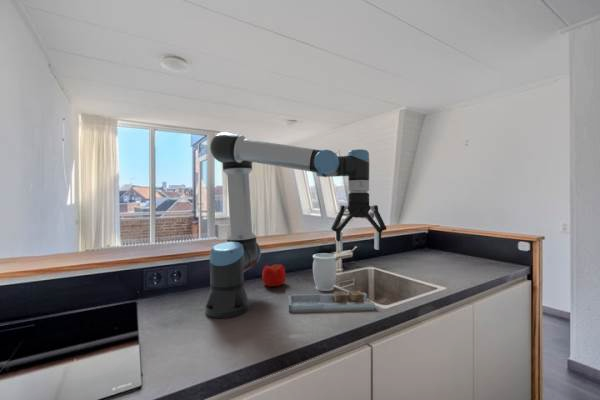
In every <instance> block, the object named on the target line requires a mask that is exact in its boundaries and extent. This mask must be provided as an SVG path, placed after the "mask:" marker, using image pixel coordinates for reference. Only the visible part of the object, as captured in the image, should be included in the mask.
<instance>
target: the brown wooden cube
mask: <svg viewBox="0 0 600 400" xmlns="http://www.w3.org/2000/svg"><path fill="white" fill-rule="evenodd" d="M348 293H349V302H364V294H363V293H364V292H361V291H360V290H351V291H348Z"/></svg>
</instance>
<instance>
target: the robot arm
mask: <svg viewBox="0 0 600 400" xmlns="http://www.w3.org/2000/svg"><path fill="white" fill-rule="evenodd" d="M210 153H211V155H212V157H213V158H214V159H215V160H216V161H218V162H219V163H221V164H222V171H223V173H225V174H226V176H227V192H228V193H227V194H228V208H229V209H228V210H229V211H228V213H229V225H230V227H229V229H230V234H229V235H228V237H227V238H226V240H227V241H226V242H222V243H217V244H215V245H213V246H212V247H211V249H210V252H209V276H210V278H209V280H210V282H209V283H210V285H209V286H210V287H209V289H210V290H209V292H208V296H207V300H206V302H205V307H204V308H205V310H204V311H205V315H206V316H208V317H210V318H214V319H215V318H216V319H229V318H235V317H238V316H240V315H243V314H245V313H246V312H247V311H249V308H250V307H249V306H250V305H249V304H250V303H249V297H248V296H247V295H248V294H247V292H246V289H245V285H244V282H245V281H244V280H245V279H244V278H245V277H244V276H245V274H244V273H245V272H246V271H248V270H249V269H252V268H253V267H255V266H256V264H257V263H258V262H259V261H260V258H261V254H262V251H261V247H260V244H259V243H258V242H257V235H256V234H254V233H253V226H252V224H253V223H252V208H251V207H252V206H251V194H250V193H251V191H250V173H251V172H252V171H253V163H255V164H262V165H269V166H274V167H275V166H276V167H280V168H281V167H282V168H287V169H294V170H299V171H306V172H311V173H316V176H317V177H323V178H329V177H331V178H332V177H348V182H347V183H348V185H347V186H348V192H349V193H348V195H347V196H348V198H347V201H348V205H340V206H339V211H338V213H337V216H336V217H335V219H334V221H333V224H331V225H332V226H331V228H330V230H331V231H333V232H335V234H336V235H335V236H336V238H335V239H336V241H337V242H338V250H339V251H340V252H343V250H344V249H343V245H344V244H343V232H342V231H343V230H344V228H345V227H346V226H347V224H348V223H349V222H350V221H351V220H352V219H353V218H357V219H358V218H366V220H367V221H368V222H369V223H370V224H371V226H372V227H373V228H374V229H375V231H373V232H374V233H373V234H374V236H373V237H374V239H373V240H374V245H373V248H374V250H377V251H379V250H380V241H381V240H382V232H383V231H386V230H387V226H386V224H385V222H384V221H383V218H382V216H381V214H380V211H379V205H376V204H373V205H370V193H369V191H370V153H369V151H368V150H367V149H351V150H349V151H348V154H347V155H339V156H338V155H337V153H335V152H334V151H333V150H330V149H322V150H321V149H320V150H319V149H314V148H307V147H303V146H302V147H301V146H295V145H288V144H283V143H282V144H281V143H275V142H267V141H262V140H255V139H254V140H253V139H247V138H246V137H245V136H244V135H243V134H242V135H241V134H236V133H232V132H227V131H223V132H219V133H217V134H216V135H214V137H213V138H212V139H211V141H210ZM370 210H371V212H373V215H374V216H375V218H376V221H377V222H376V221H375V220H374V219H373V217H372V216H371V215H370V213H369V212H370ZM346 211H348V212H349V213H348V214H347V215H346V217H345V218H344V219H343V220H342V217H343V215H344V213H345V212H346ZM341 220H342V222H341ZM340 222H341V223H340ZM339 223H340V224H339Z"/></svg>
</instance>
